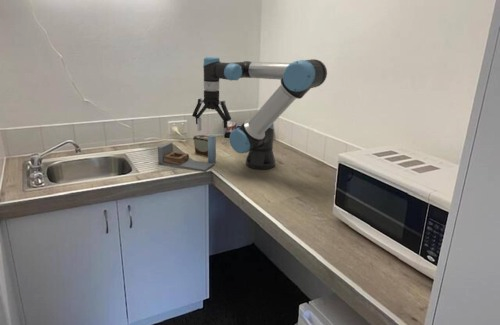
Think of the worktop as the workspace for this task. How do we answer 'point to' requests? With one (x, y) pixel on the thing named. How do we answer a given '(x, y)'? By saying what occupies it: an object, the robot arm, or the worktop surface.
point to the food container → (201, 145)
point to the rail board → (188, 164)
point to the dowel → (211, 149)
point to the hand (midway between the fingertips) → (211, 132)
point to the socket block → (176, 158)
